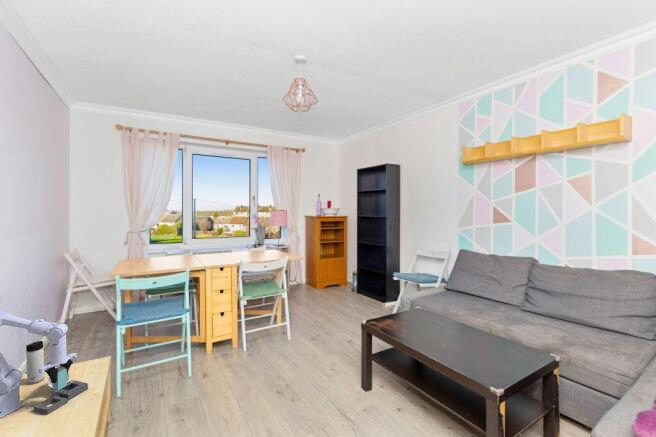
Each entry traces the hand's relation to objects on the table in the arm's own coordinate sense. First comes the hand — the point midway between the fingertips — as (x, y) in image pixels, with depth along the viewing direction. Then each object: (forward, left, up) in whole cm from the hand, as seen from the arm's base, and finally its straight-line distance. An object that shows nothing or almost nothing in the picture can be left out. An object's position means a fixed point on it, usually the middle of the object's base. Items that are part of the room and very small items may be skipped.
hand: (59, 379), depth 139 cm
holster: (-4, -1, -10) cm, 11 cm away
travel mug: (+8, +27, -10) cm, 30 cm away
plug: (0, 0, -3) cm, 3 cm away
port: (+5, +1, -10) cm, 11 cm away
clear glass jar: (+10, +14, -7) cm, 18 cm away
